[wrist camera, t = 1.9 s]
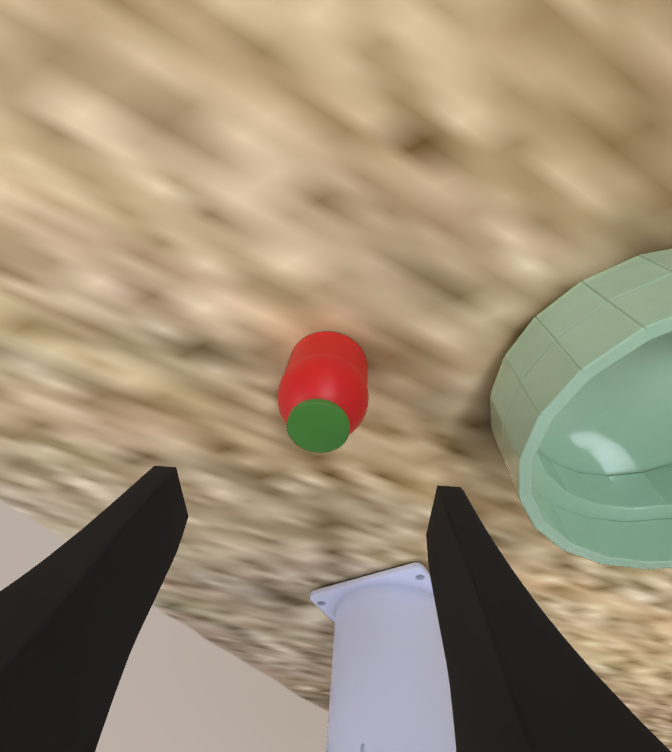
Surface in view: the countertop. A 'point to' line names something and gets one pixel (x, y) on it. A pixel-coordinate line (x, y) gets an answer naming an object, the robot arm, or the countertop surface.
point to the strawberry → (324, 391)
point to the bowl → (595, 416)
